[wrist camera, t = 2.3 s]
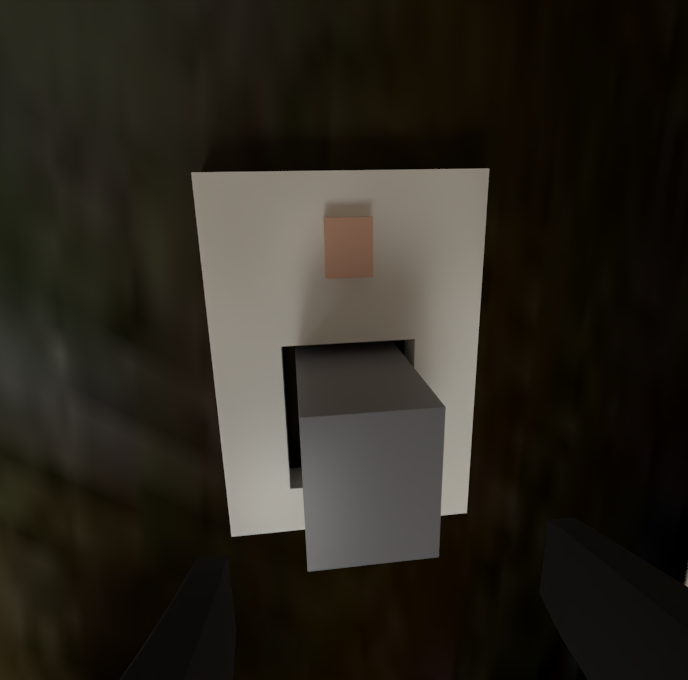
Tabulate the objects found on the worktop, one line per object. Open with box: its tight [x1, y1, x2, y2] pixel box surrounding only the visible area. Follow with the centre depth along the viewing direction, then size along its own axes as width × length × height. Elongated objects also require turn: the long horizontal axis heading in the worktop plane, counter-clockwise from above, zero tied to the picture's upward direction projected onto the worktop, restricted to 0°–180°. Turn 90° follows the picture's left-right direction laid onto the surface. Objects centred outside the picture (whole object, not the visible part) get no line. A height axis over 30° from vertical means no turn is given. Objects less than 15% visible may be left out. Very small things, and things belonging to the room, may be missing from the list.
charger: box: [295, 341, 446, 572], centre depth 16 cm, size 5×4×6 cm
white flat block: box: [191, 168, 489, 537], centre depth 17 cm, size 14×10×2 cm
